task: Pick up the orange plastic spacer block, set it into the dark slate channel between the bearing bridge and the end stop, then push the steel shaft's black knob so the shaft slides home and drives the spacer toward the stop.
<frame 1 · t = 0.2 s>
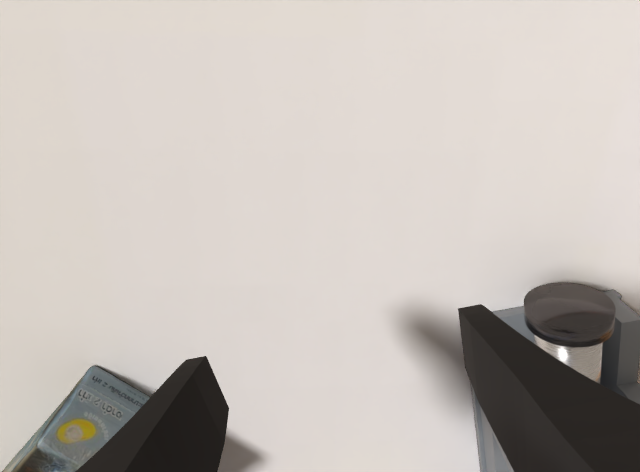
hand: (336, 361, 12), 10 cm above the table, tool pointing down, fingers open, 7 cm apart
beverage carton: (80, 465, 29), on the table
shaft: (566, 362, 20), point 3 cm above the table, slide at 0.0 cm
housing: (539, 398, 25), on the table
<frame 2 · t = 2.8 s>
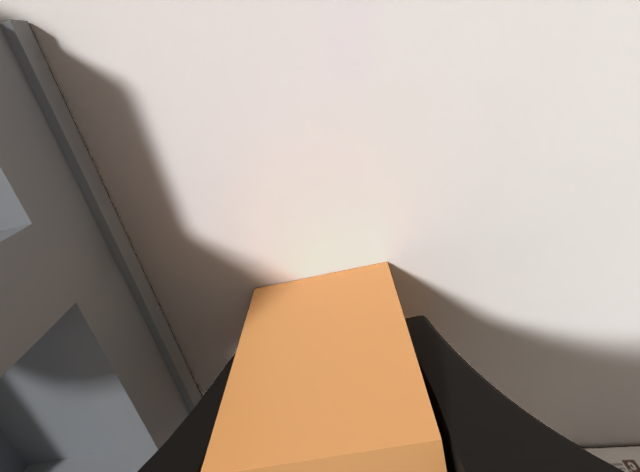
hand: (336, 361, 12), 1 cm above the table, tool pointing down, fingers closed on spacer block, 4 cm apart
spacer block: (334, 329, 13), on the table, touching gripper
housing: (26, 306, 13), on the table
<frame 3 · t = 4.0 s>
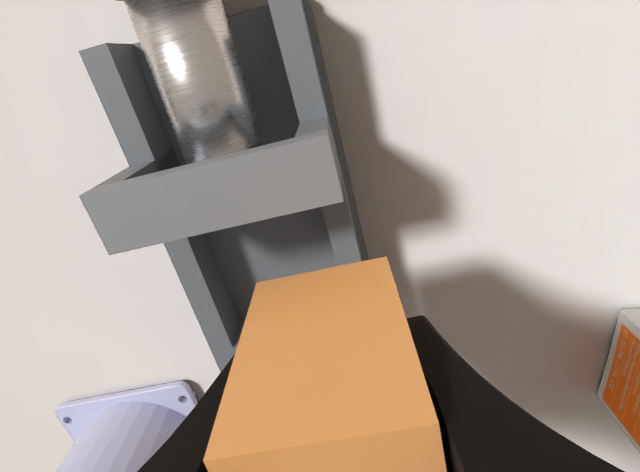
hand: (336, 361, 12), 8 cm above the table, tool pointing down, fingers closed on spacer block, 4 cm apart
spacer block: (334, 323, 13), point 7 cm above the table, touching gripper
shaft: (197, 69, 13), point 3 cm above the table, slide at 0.0 cm
housing: (261, 196, 18), on the table
when the fingers open (4 cm above the table, at t = 5.5 s): spacer block drops 1 cm, resting on housing.
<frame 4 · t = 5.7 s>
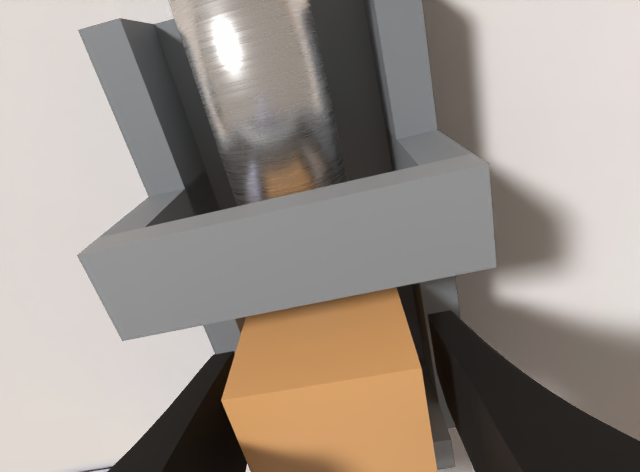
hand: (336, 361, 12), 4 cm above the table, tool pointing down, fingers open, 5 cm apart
spacer block: (333, 301, 14), point 1 cm above the table, touching housing
shaft: (256, 59, 9), point 3 cm above the table, slide at 0.0 cm
housing: (317, 231, 14), on the table
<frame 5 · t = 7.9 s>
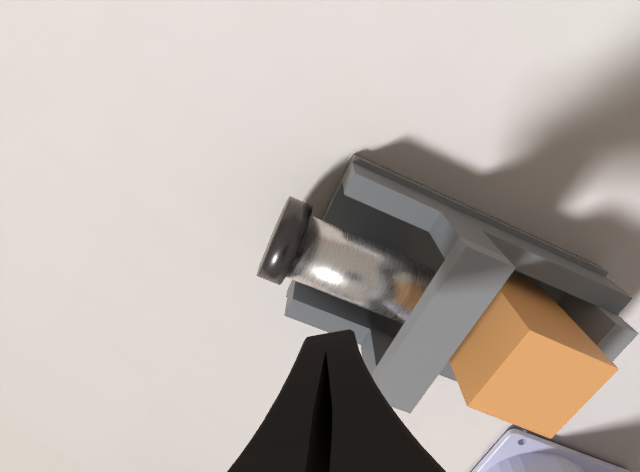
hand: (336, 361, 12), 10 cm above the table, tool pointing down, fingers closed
spacer block: (485, 302, 21), point 1 cm above the table, touching housing
shaft: (348, 266, 18), point 3 cm above the table, slide at 0.0 cm
housing: (441, 279, 21), on the table
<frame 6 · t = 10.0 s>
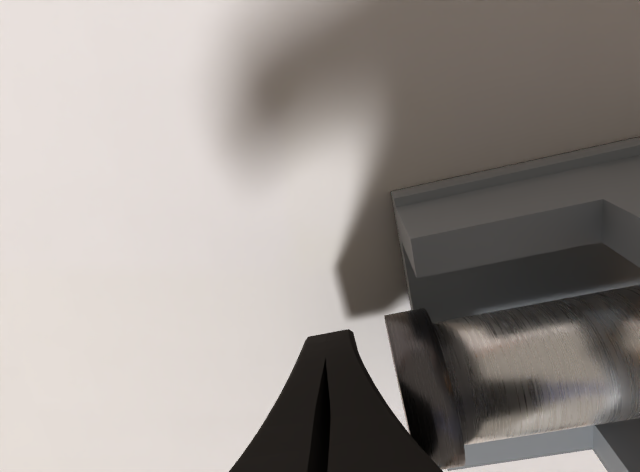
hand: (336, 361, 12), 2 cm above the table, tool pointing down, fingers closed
shaft: (546, 363, 10), point 3 cm above the table, slide at 1.1 cm, touching gripper
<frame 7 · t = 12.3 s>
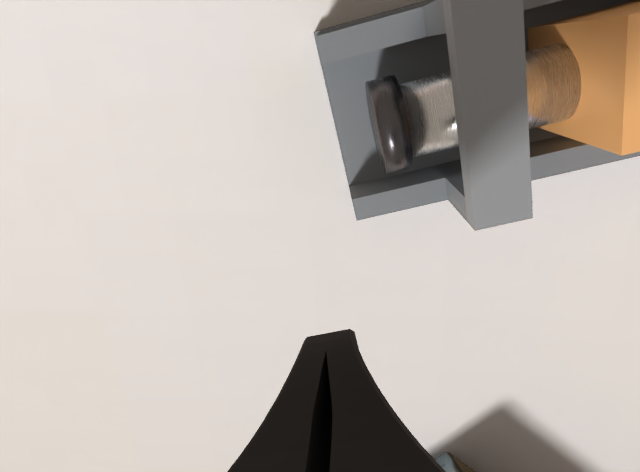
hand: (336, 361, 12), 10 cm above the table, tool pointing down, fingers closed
spacer block: (578, 66, 17), point 1 cm above the table, touching housing, shaft
shaft: (465, 106, 16), point 3 cm above the table, slide at 3.5 cm, touching spacer block
housing: (488, 87, 18), on the table
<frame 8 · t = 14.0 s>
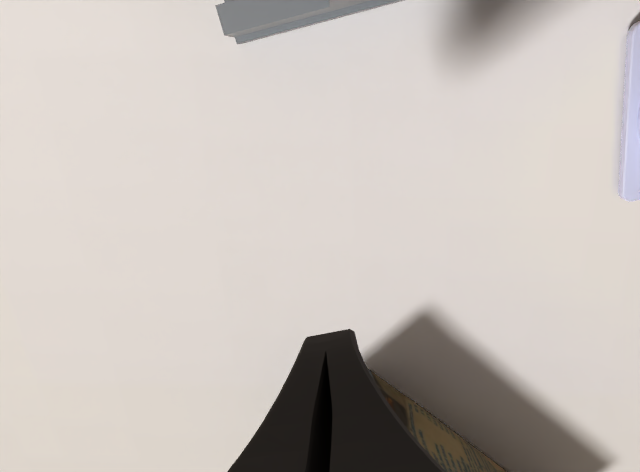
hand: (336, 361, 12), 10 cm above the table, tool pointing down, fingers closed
beverage carton: (425, 463, 29), on the table
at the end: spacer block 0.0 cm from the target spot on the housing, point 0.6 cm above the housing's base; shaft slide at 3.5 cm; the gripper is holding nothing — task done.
